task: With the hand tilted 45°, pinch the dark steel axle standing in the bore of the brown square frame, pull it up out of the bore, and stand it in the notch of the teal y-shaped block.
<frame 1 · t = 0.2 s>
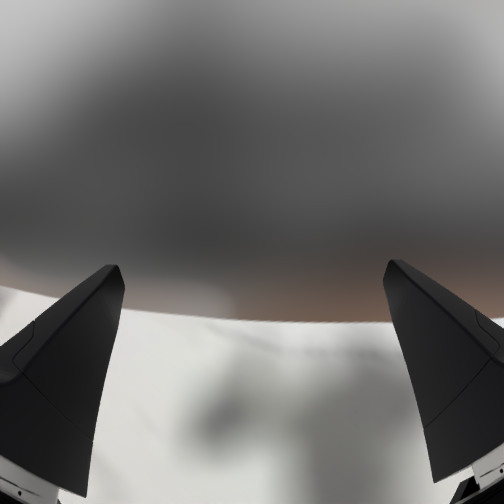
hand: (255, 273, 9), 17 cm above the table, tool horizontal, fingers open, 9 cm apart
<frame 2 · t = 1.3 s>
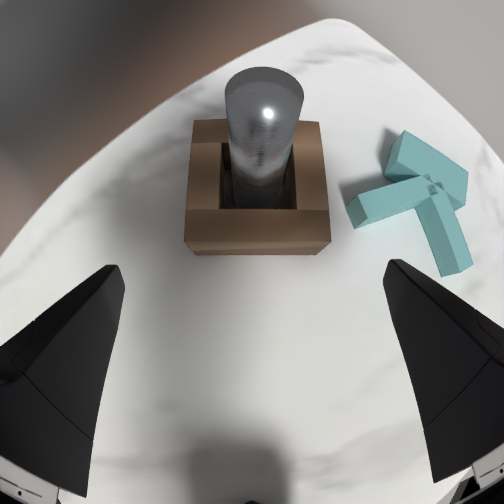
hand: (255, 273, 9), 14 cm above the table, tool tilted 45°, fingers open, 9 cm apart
teal y-shaped block: (405, 239, 24), on the table
axle: (258, 159, 18), in the brown square frame
brown square frame: (255, 197, 24), on the table
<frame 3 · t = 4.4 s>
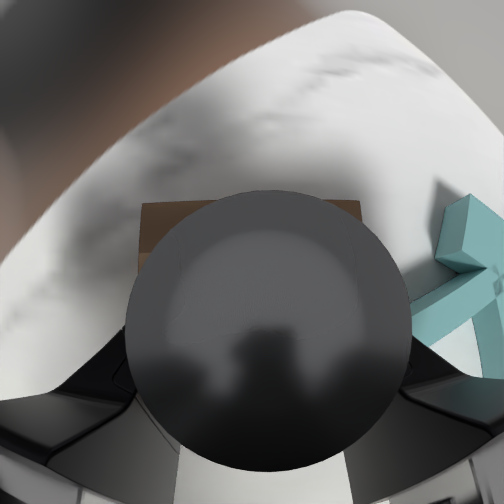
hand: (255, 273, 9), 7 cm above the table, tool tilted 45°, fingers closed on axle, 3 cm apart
teal y-shaped block: (453, 348, 16), on the table
axle: (256, 318, 10), in the brown square frame, touching gripper
brown square frame: (252, 313, 16), on the table
when the fingers open (8 cm above the table, at t = 8.8 s): axle drops 1 cm, on the table.
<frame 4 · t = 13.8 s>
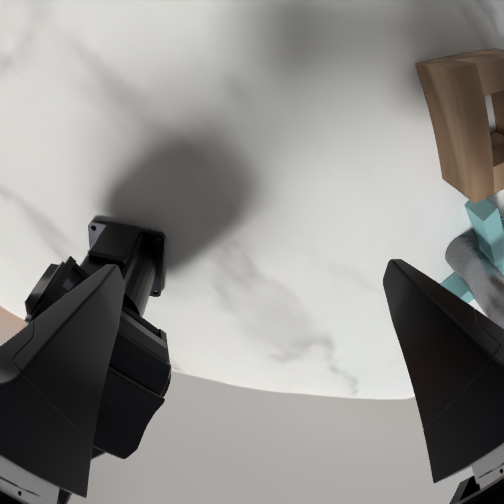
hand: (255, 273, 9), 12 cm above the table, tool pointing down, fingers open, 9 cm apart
teal y-shaped block: (459, 250, 24), on the table
axle: (493, 292, 19), on the table
brown square frame: (474, 110, 16), on the table
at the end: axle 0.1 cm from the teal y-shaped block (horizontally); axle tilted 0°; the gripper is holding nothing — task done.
